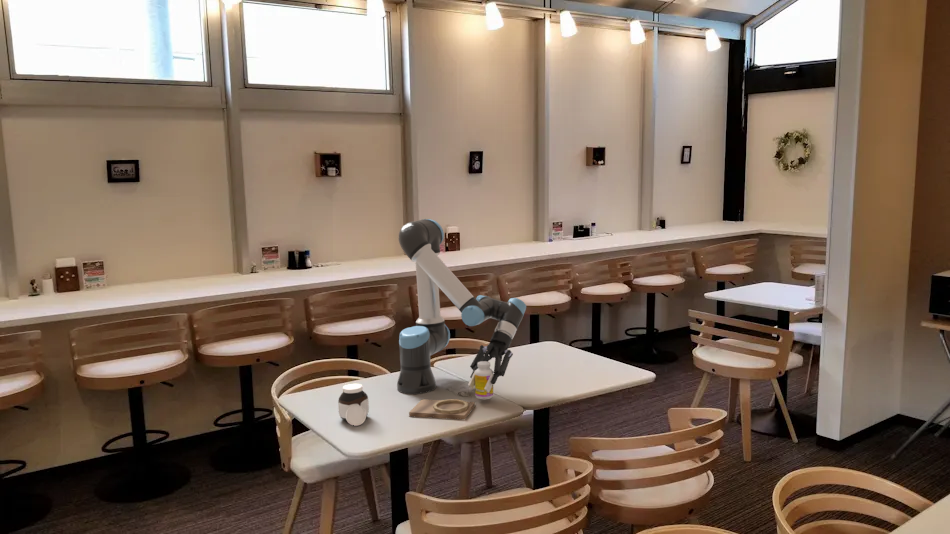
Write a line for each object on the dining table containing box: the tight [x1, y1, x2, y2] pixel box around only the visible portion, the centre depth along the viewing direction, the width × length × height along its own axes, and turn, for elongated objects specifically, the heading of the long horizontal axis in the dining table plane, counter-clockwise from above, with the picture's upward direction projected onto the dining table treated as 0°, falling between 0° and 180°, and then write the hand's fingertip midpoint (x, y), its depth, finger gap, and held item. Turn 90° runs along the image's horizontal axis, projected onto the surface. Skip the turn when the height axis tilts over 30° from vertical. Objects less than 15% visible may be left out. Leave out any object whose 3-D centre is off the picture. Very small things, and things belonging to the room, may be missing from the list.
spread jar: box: [337, 383, 370, 427], centre depth 250 cm, size 12×11×12 cm
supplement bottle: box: [474, 361, 494, 400], centre depth 266 cm, size 7×7×13 cm
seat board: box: [408, 398, 476, 420], centre depth 257 cm, size 20×14×2 cm
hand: (478, 388), depth 263 cm, fingers closed on supplement bottle, 7 cm apart
